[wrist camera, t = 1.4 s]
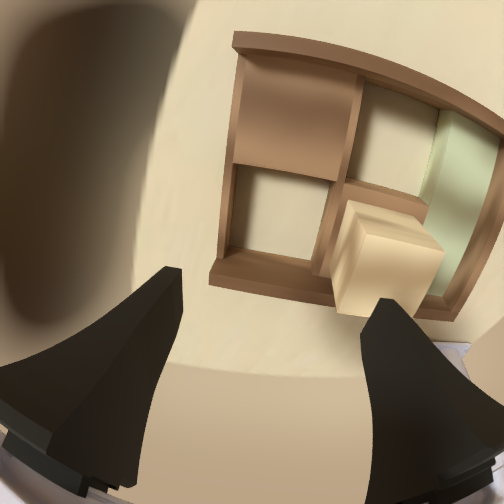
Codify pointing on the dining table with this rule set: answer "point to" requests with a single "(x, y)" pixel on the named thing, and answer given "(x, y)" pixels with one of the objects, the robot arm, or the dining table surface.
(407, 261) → the birch block
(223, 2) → the dining table surface
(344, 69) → the frame
